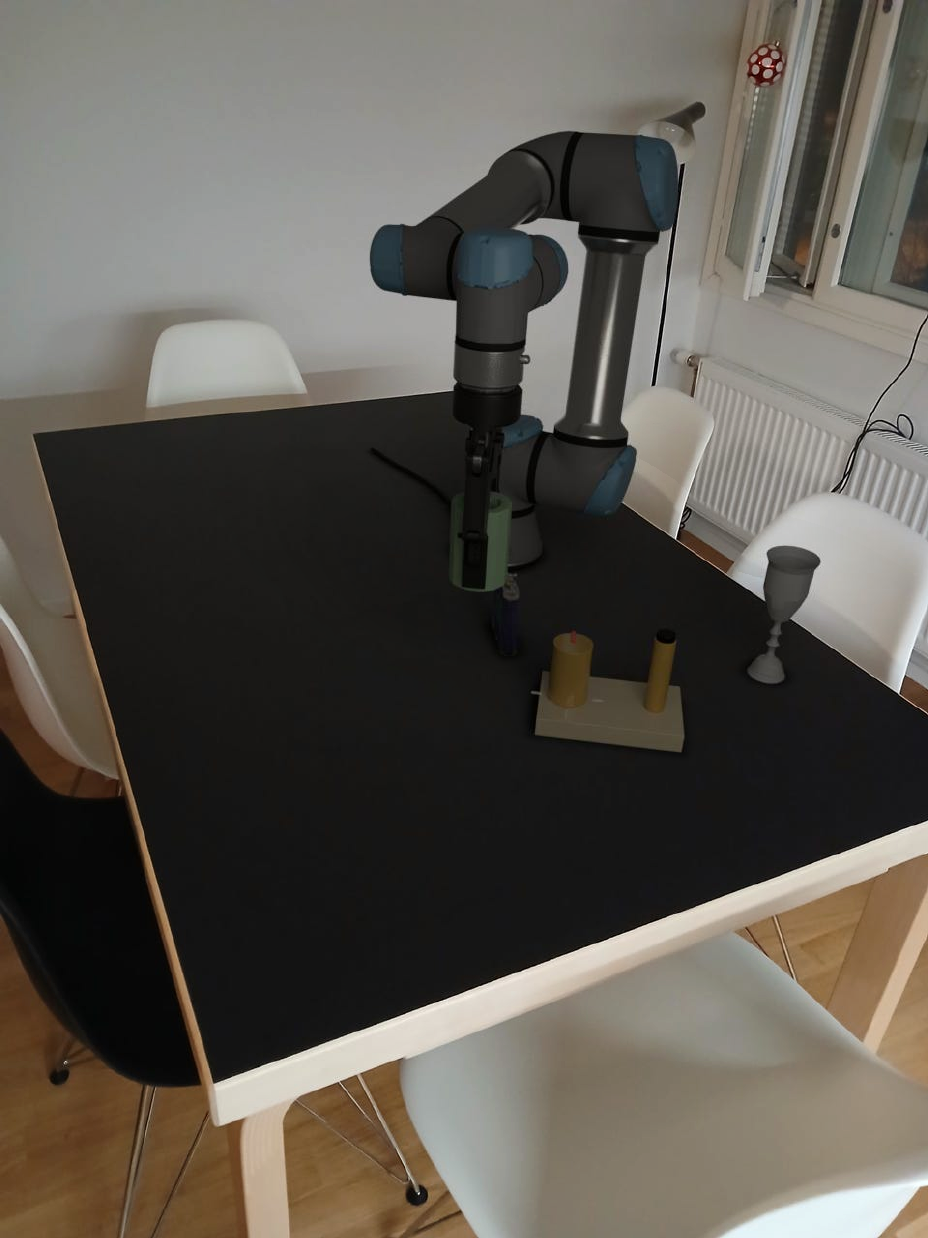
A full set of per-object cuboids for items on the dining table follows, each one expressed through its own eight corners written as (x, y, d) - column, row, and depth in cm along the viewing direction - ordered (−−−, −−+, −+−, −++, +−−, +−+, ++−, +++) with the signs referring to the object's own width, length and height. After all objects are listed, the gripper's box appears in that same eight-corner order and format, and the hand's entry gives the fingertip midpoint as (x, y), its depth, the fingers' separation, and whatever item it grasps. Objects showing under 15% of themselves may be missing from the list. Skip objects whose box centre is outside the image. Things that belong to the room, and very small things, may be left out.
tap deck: (525, 733, 120) (527, 716, 118) (533, 685, 129) (534, 669, 128) (681, 752, 118) (684, 735, 116) (677, 702, 127) (680, 685, 126)
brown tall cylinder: (642, 721, 121) (656, 637, 115) (642, 709, 124) (655, 627, 118) (663, 723, 121) (678, 640, 115) (662, 712, 123) (677, 629, 117)
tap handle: (586, 710, 120) (593, 653, 116) (546, 705, 121) (552, 649, 117) (587, 688, 125) (594, 632, 121) (548, 683, 125) (554, 628, 121)
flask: (489, 623, 143) (494, 558, 138) (509, 623, 144) (514, 558, 138) (500, 656, 135) (505, 589, 130) (521, 656, 136) (527, 588, 130)
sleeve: (437, 577, 116) (440, 500, 111) (476, 560, 120) (480, 485, 115) (479, 597, 112) (483, 518, 107) (517, 579, 116) (523, 502, 111)
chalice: (751, 654, 139) (776, 540, 130) (798, 670, 136) (827, 555, 127) (733, 676, 133) (758, 559, 124) (781, 693, 130) (811, 574, 121)
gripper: (512, 414, 95) (499, 615, 107) (531, 361, 112) (517, 540, 124) (438, 408, 96) (432, 608, 108) (467, 356, 113) (460, 534, 125)
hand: (478, 571), depth 116 cm, fingers closed on sleeve, 7 cm apart
